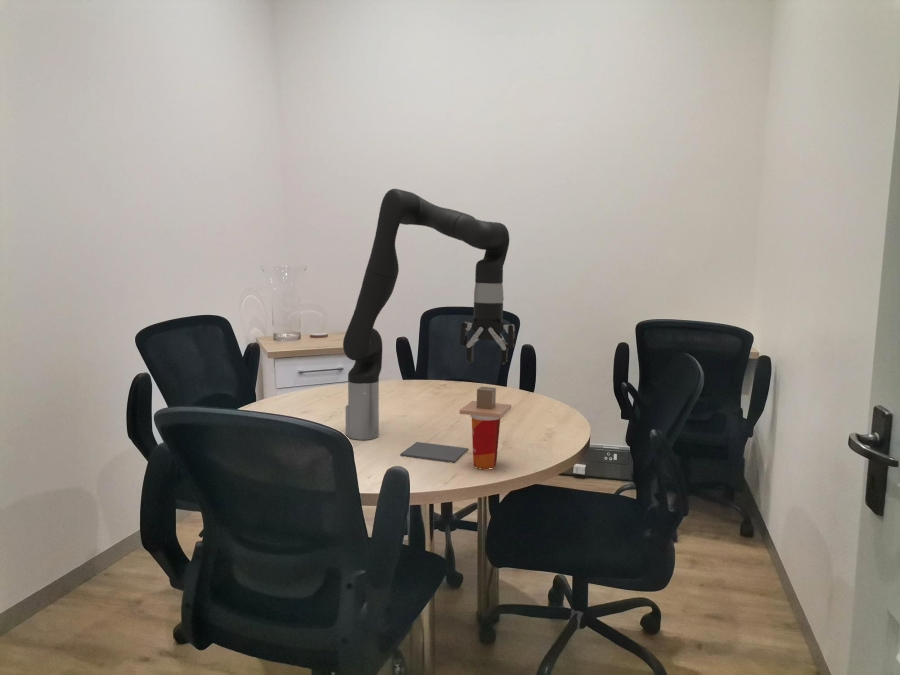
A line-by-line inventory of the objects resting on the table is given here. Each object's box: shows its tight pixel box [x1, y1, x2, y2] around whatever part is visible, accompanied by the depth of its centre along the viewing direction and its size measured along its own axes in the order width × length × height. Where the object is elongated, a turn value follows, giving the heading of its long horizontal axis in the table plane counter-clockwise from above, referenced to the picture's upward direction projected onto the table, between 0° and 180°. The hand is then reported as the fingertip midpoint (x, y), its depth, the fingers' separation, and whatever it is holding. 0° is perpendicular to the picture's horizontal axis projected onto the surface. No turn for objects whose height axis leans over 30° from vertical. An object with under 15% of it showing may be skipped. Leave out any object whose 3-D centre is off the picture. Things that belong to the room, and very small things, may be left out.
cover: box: [459, 386, 512, 419], centre depth 161 cm, size 11×11×6 cm
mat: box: [399, 441, 469, 464], centre depth 174 cm, size 16×12×1 cm
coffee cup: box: [469, 415, 501, 470], centre depth 163 cm, size 8×8×15 cm
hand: (487, 362), depth 160 cm, fingers open, 8 cm apart
